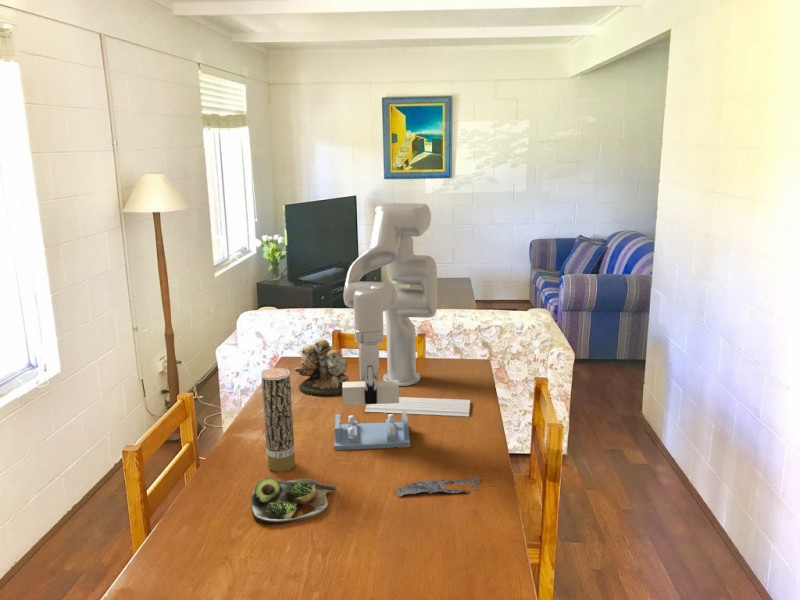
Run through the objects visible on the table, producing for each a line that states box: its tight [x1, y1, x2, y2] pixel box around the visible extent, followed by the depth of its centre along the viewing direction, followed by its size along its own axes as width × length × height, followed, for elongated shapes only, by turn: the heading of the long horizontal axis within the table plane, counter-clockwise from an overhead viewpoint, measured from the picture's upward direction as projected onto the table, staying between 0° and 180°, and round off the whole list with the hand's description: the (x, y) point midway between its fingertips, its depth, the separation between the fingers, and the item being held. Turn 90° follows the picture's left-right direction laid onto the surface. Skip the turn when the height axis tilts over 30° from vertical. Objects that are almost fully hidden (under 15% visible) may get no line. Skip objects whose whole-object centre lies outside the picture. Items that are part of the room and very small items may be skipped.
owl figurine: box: [294, 338, 350, 398], centre depth 212 cm, size 18×12×17 cm, turn 81°
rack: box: [333, 412, 411, 451], centre depth 179 cm, size 20×13×5 cm, turn 94°
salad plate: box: [250, 477, 337, 526], centre depth 149 cm, size 19×18×5 cm
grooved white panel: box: [364, 396, 471, 418], centre depth 198 cm, size 31×3×12 cm
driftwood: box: [394, 475, 481, 497], centre depth 154 cm, size 21×7×2 cm, turn 93°
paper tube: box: [260, 367, 296, 473], centre depth 162 cm, size 7×7×25 cm
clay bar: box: [342, 380, 400, 406], centre depth 177 cm, size 15×4×5 cm, turn 94°
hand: (370, 399), depth 177 cm, fingers closed on clay bar, 4 cm apart
